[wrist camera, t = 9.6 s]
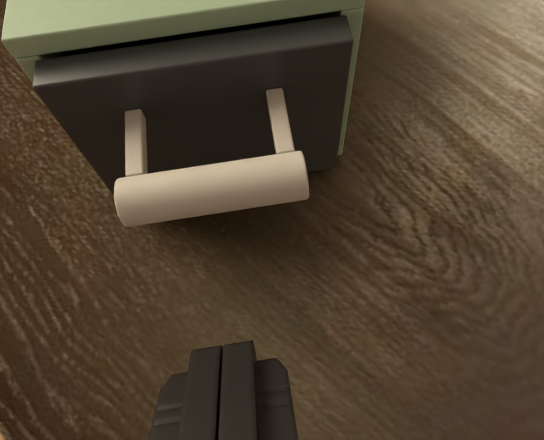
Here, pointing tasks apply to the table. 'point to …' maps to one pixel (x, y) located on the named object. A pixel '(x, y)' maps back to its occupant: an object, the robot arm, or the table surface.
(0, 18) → the table surface
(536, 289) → the table surface
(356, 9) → the green drawer cabinet
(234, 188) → the fryer drawer
